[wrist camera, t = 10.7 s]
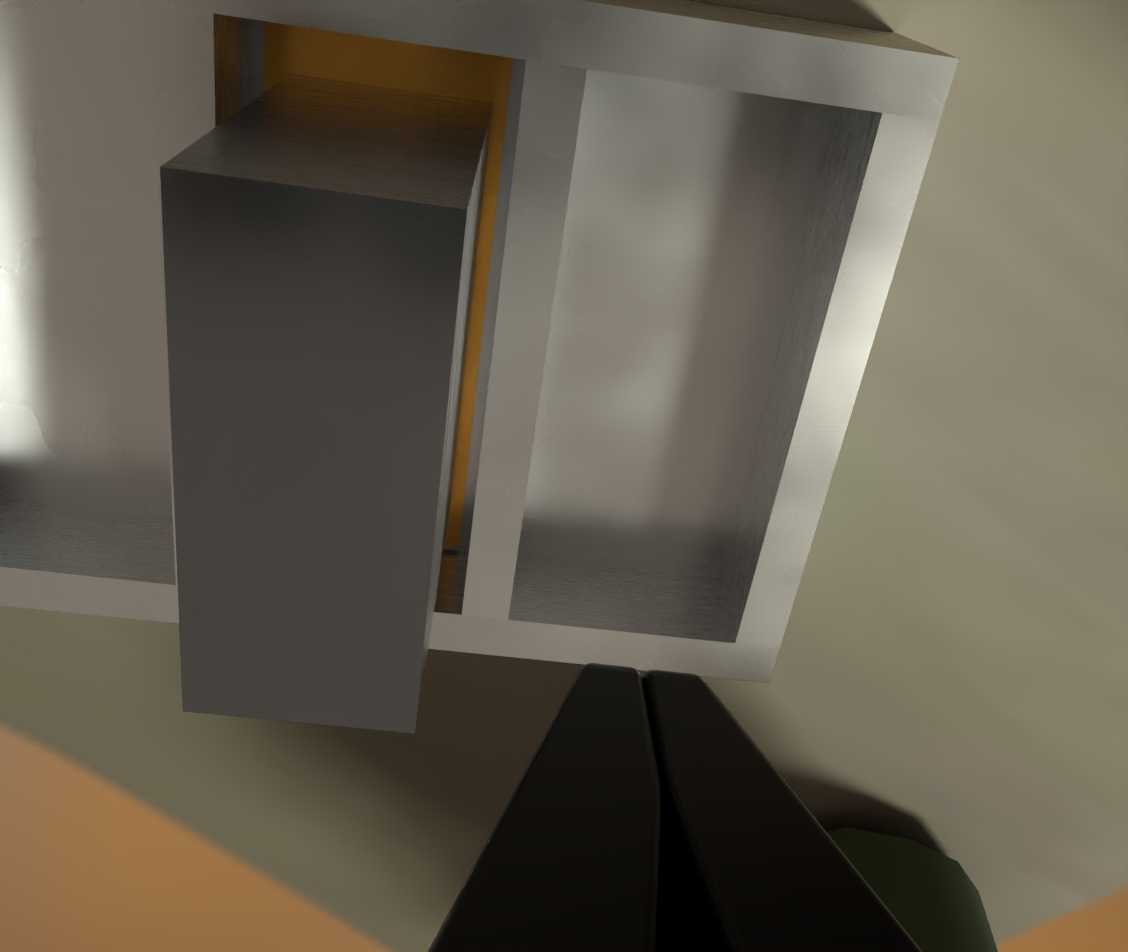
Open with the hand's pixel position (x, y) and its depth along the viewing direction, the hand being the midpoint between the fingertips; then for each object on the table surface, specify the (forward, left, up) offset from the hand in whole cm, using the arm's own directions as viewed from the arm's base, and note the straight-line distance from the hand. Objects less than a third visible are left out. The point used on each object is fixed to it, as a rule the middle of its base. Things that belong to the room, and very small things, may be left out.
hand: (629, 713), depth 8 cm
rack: (+3, +1, -12) cm, 12 cm away
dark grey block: (+3, +1, -11) cm, 11 cm away
